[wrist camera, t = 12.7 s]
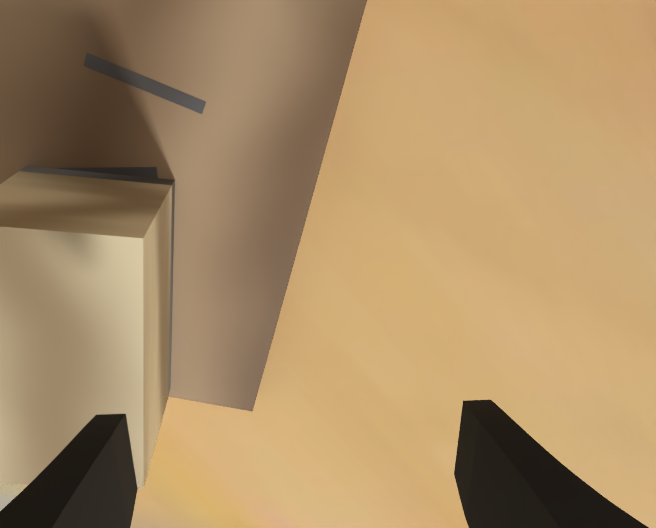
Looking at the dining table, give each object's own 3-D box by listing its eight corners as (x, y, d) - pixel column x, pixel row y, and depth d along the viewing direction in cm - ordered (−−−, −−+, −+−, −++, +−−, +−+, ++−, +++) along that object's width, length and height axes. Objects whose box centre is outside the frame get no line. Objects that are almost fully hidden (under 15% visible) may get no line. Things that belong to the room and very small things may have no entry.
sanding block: (175, 179, 19) (143, 238, 15) (170, 387, 22) (143, 488, 18) (26, 165, 19) (-54, 222, 14) (43, 380, 22) (-18, 482, 17)
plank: (438, -281, 16) (451, -301, 15) (253, 392, 24) (252, 411, 23) (-48, -477, 14) (-76, -517, 13) (-69, 333, 22) (-87, 351, 21)
